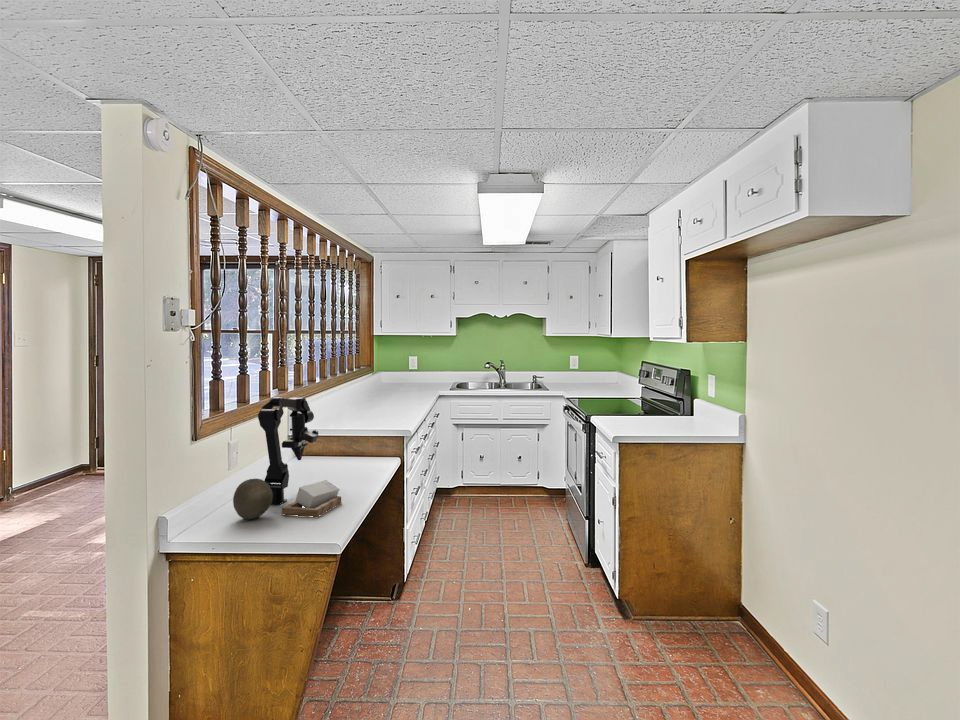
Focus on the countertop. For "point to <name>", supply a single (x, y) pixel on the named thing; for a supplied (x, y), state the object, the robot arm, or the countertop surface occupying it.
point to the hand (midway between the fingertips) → (299, 460)
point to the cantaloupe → (252, 498)
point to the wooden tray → (297, 508)
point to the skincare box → (316, 494)
